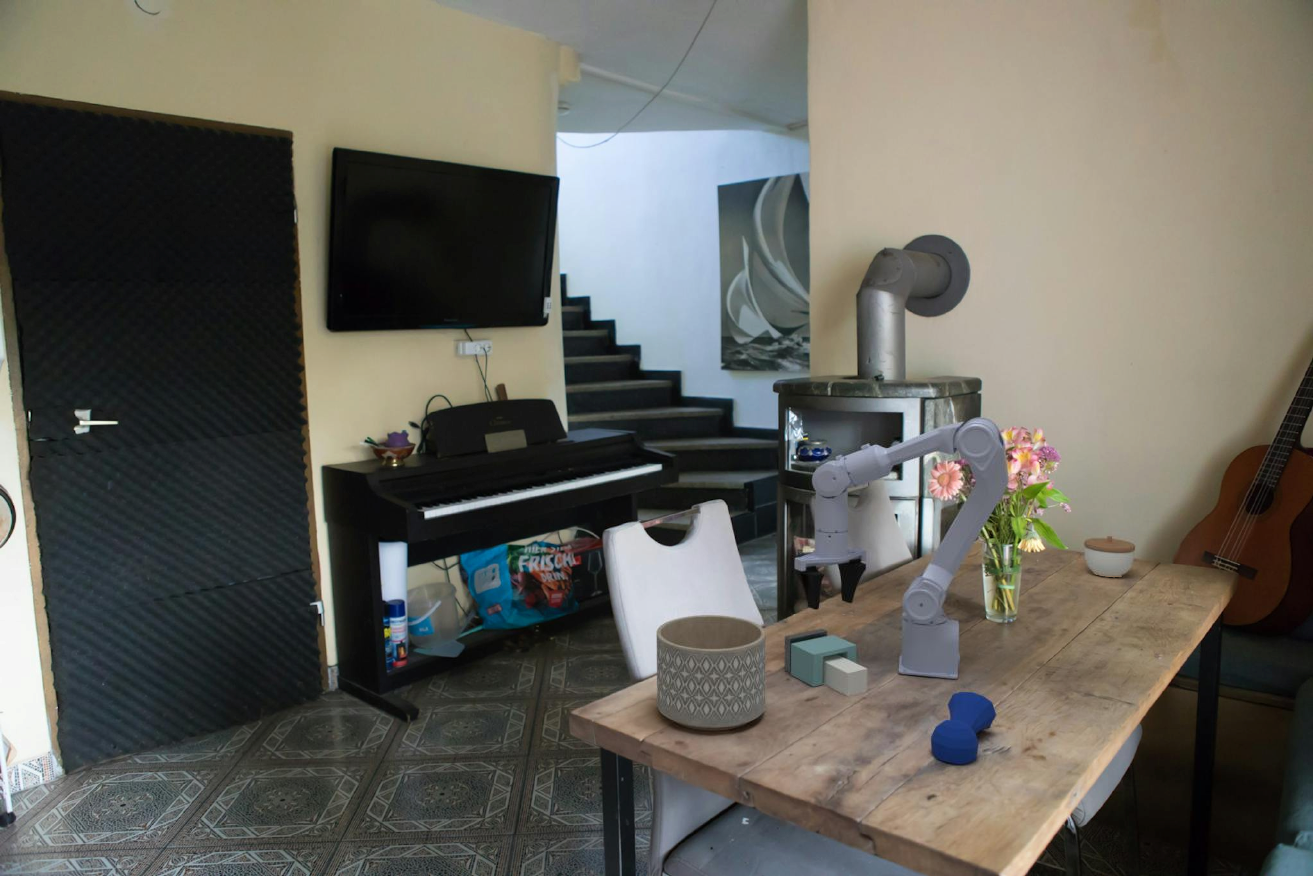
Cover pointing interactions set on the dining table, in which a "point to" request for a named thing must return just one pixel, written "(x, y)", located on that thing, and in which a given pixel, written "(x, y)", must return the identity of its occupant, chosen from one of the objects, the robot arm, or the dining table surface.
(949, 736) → the toy
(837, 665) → the peg
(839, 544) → the robot arm
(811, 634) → the wall
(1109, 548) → the lidded jar
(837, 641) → the block
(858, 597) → the dining table surface
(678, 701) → the planter
